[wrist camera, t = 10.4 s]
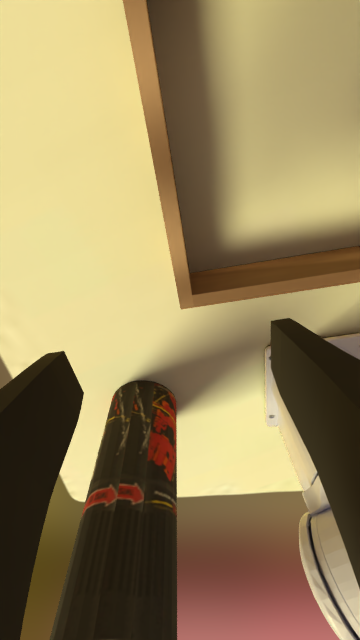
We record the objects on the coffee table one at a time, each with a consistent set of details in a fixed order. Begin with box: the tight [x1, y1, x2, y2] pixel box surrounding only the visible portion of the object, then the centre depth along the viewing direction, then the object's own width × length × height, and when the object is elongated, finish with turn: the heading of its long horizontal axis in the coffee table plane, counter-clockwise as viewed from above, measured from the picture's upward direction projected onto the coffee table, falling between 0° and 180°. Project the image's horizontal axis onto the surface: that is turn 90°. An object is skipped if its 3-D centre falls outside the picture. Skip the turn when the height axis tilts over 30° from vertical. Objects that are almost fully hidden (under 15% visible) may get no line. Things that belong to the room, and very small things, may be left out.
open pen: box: [123, 0, 360, 309], centre depth 14 cm, size 16×16×4 cm
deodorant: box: [50, 381, 177, 640], centre depth 19 cm, size 6×6×15 cm
